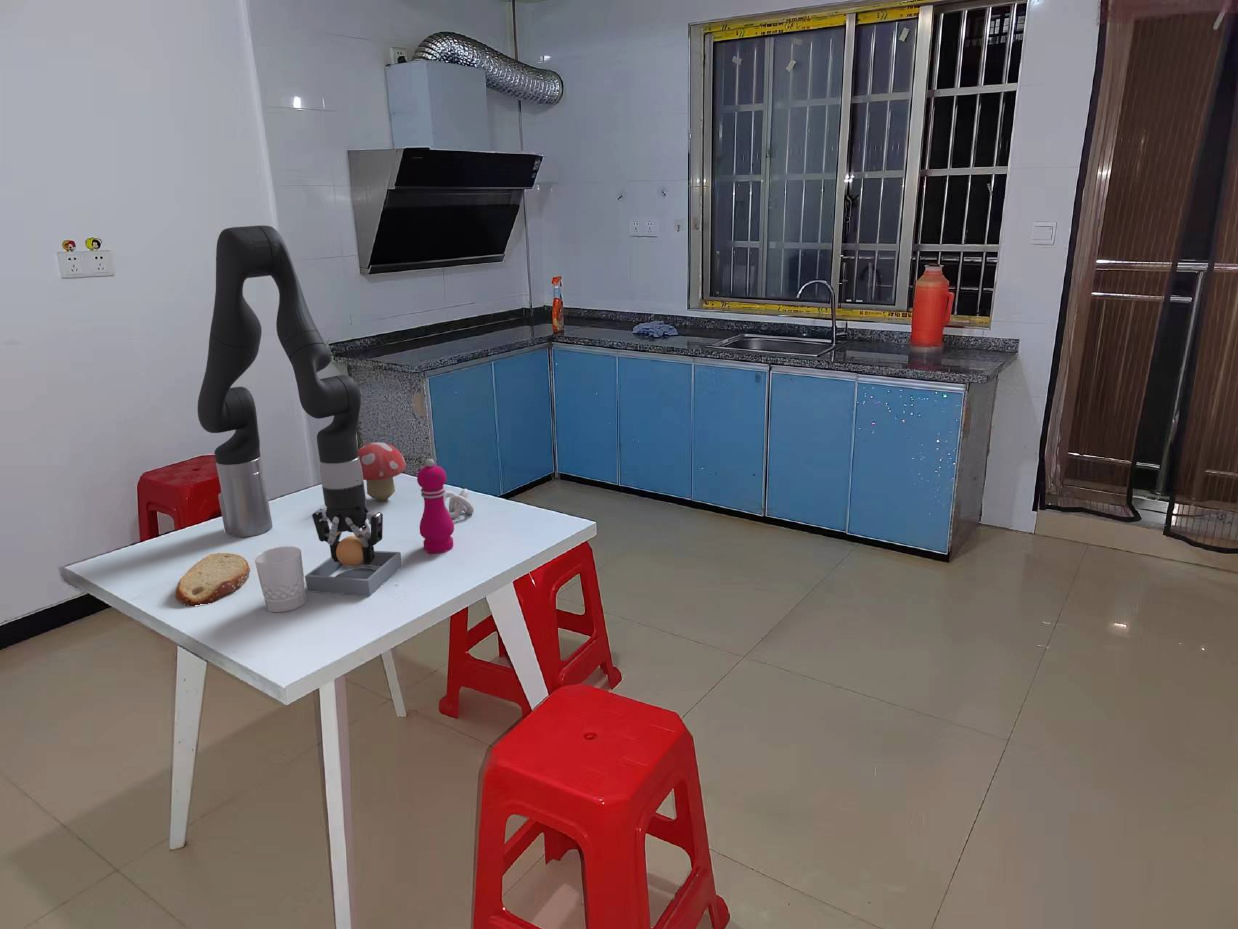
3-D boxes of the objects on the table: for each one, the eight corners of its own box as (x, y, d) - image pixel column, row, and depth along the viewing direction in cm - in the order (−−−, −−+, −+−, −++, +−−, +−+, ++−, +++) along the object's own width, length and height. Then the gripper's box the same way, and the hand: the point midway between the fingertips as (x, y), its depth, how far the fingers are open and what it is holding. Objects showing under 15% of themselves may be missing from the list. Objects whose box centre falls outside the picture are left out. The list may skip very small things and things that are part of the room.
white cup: (263, 617, 142) (254, 567, 139) (263, 599, 148) (254, 550, 145) (309, 608, 144) (301, 558, 141) (307, 591, 151) (300, 543, 148)
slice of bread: (227, 557, 169) (224, 541, 167) (280, 575, 159) (277, 558, 158) (142, 591, 154) (138, 573, 153) (195, 612, 145) (191, 594, 144)
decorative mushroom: (420, 496, 202) (414, 439, 197) (381, 512, 191) (374, 453, 186) (383, 488, 208) (376, 433, 204) (343, 504, 197) (335, 447, 193)
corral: (307, 591, 151) (304, 576, 150) (343, 562, 164) (341, 548, 163) (370, 596, 149) (368, 580, 148) (402, 566, 161) (400, 552, 160)
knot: (445, 523, 183) (443, 500, 182) (436, 512, 190) (434, 490, 188) (476, 517, 187) (474, 494, 185) (466, 507, 193) (464, 484, 192)
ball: (332, 570, 153) (328, 542, 151) (348, 558, 159) (344, 530, 157) (360, 572, 152) (356, 544, 150) (375, 560, 157) (372, 532, 156)
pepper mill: (462, 546, 170) (454, 458, 164) (434, 557, 165) (424, 466, 159) (443, 538, 175) (434, 452, 169) (415, 548, 170) (405, 459, 164)
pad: (323, 587, 153) (323, 586, 153) (347, 567, 161) (347, 566, 161) (365, 590, 151) (365, 589, 151) (387, 570, 159) (387, 569, 159)
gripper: (297, 485, 148) (310, 567, 153) (367, 489, 145) (378, 572, 150) (319, 473, 155) (331, 551, 160) (386, 476, 152) (396, 556, 157)
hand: (353, 561), depth 155 cm, fingers closed on ball, 6 cm apart
